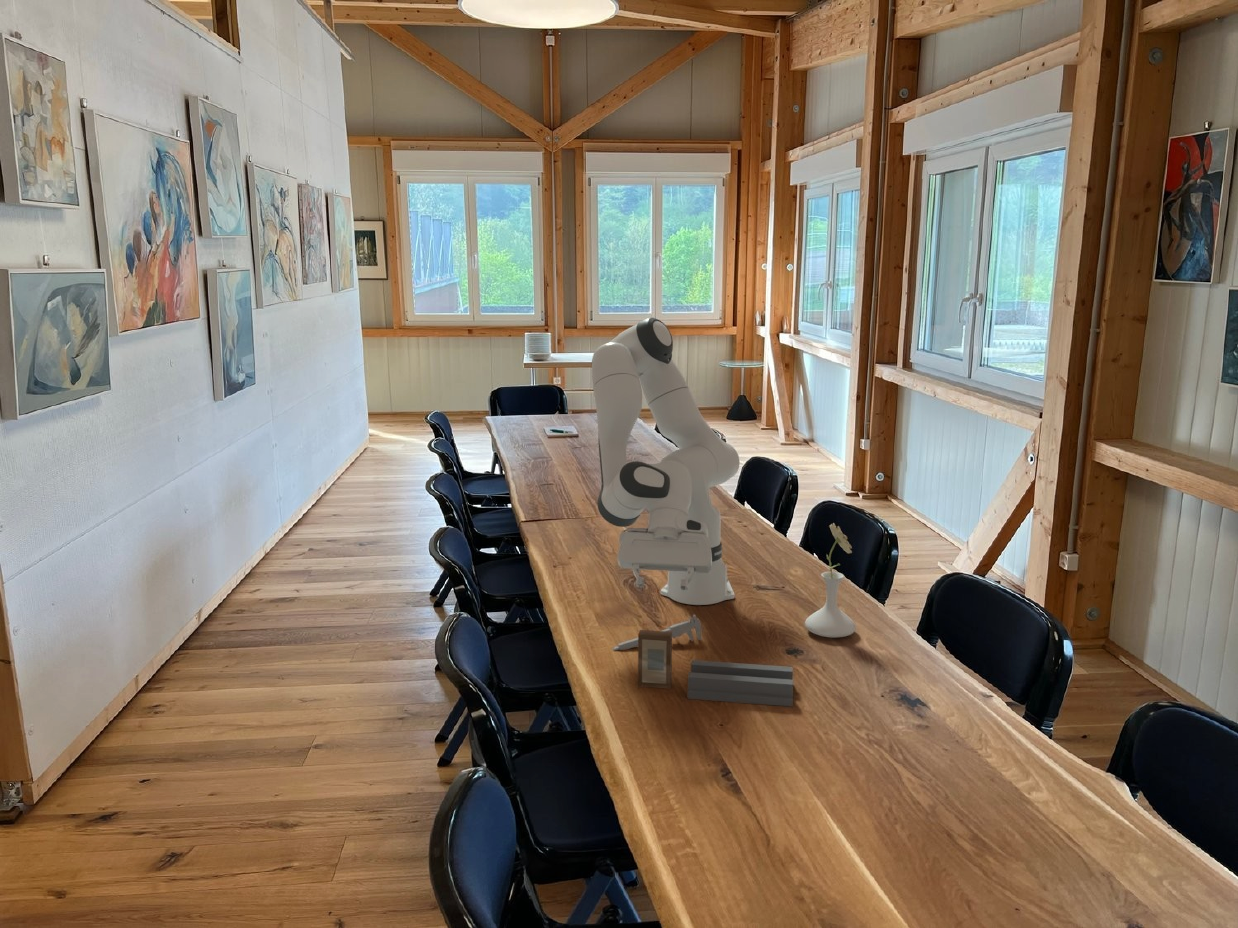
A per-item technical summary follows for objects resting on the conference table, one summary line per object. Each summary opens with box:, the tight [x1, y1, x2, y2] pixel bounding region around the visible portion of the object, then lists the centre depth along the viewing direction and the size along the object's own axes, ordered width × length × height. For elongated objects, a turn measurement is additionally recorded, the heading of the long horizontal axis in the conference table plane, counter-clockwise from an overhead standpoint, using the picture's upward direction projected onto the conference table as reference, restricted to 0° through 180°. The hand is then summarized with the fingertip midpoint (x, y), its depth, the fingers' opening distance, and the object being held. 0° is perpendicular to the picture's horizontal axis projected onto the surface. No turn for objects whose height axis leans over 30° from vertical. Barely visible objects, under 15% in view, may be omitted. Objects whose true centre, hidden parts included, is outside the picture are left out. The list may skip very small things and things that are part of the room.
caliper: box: [612, 614, 702, 651], centre depth 199 cm, size 20×1×6 cm, turn 107°
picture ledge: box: [686, 659, 794, 707], centre depth 177 cm, size 10×20×4 cm, turn 80°
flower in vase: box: [804, 522, 857, 639], centre depth 205 cm, size 13×11×25 cm
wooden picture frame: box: [637, 629, 673, 689], centre depth 179 cm, size 3×6×11 cm, turn 80°
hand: (661, 587), depth 189 cm, fingers open, 8 cm apart
